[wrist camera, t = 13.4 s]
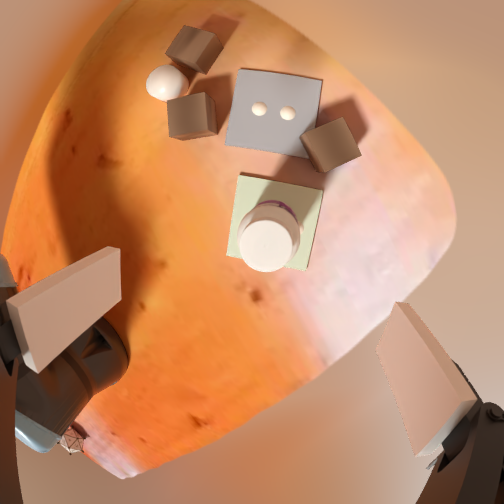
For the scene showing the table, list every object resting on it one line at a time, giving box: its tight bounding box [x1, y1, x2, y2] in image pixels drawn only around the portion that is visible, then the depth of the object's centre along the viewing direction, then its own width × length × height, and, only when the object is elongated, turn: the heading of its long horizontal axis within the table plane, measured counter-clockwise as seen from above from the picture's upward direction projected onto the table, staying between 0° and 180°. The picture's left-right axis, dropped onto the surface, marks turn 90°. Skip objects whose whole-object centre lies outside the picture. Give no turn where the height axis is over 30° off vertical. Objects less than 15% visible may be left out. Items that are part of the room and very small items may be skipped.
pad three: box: [226, 175, 323, 271], centre depth 29 cm, size 9×9×1 cm
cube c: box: [299, 117, 362, 172], centre depth 24 cm, size 4×4×4 cm
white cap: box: [146, 65, 189, 103], centre depth 25 cm, size 4×4×3 cm
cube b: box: [165, 25, 223, 75], centre depth 23 cm, size 4×4×4 cm
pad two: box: [225, 69, 322, 159], centre depth 26 cm, size 9×9×1 cm
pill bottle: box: [237, 200, 301, 272], centre depth 25 cm, size 5×5×10 cm
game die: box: [57, 426, 86, 455], centre depth 48 cm, size 9×8×10 cm
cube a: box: [167, 92, 218, 141], centre depth 26 cm, size 4×4×4 cm
